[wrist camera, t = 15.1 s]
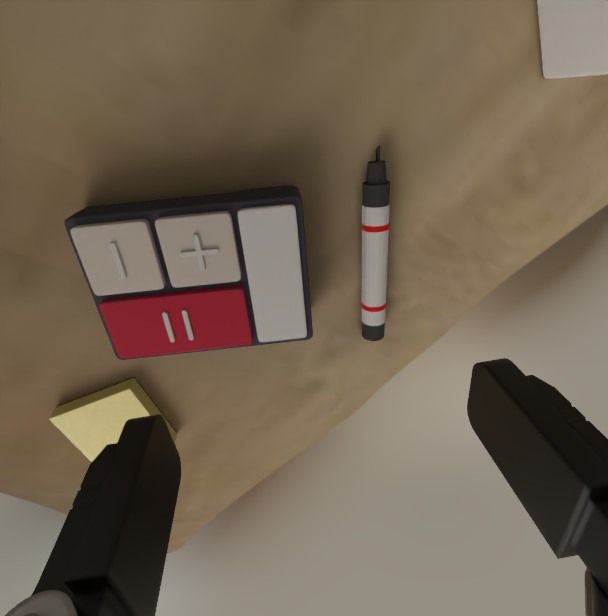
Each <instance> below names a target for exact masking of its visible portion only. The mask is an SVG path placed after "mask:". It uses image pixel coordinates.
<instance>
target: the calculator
mask: <svg viewBox="0 0 608 616" xmlns="http://www.w3.org/2000/svg"><path fill="white" fill-rule="evenodd" d="M65 227H66V230H67V232H68V235H69V237H70V240H71V242H72V245H73V247H74V250H75V253H76V255H77V258H78V260H79V263H80V265H81V268H82V270H83V273H84V276H85V278H86V281H87V283H88V286H89V288H90V291H91V293H92V296H93V298H94V301H95V304H96V306H97V309H98V311H99V314H100V316H101V319H102V321H103V324H104V327H105V329H106V332H107V334H108V337H109V339H110V342H111V344H112V347H113V349H114V352H115V354H116V356H117V358H119V359H121V360H126V359H135V358H144V357H153V356H162V355H172V354H181V353H190V352H199V351H208V350H217V349H226V348H235V347H245V346H254V345H263V344H272V343H281V342H290V341H299V340H307V339H310V338H311V337H312V335H313V330H312V317H311V305H310V293H309V280H308V268H307V256H306V243H305V231H304V218H303V206H302V200H301V196H300V193H299V190H298V188H297V187H295V186H281V187H271V188H261V189H251V190H244V191H239V192H234V193H227V194H217V195H206V196H196V197H186V198H176V199H165V200H155V201H145V202H135V203H124V204H114V205H104V206H94V207H87V208H84V209H83V210H81V211H79V212H77V213H76V214H74V215H72V216H70V217H69V218H67V219H66V220H65Z"/></svg>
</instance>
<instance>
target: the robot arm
mask: <svg viewBox="0 0 608 616" xmlns="http://www.w3.org/2000/svg"><path fill="white" fill-rule="evenodd" d="M467 410H468V417H469V420H470V423H471V426H472V428H473V430H474V431H475V433H476V434H477V436H478V437H479V439H480V440H481V442H482V443H483V445H484V446H485V448H486V450H487V451H488V453H489V454H490V456H491V457H492V459H493V460H494V462H495V463H496V465H497V466H498V468H499V469H500V471H501V472H502V474H503V476H504V477H505V479H506V480H507V482H508V483H509V485H510V486H511V488H512V489H513V491H514V492H515V494H516V495H517V497H518V498H519V500H520V501H521V503H522V504H523V506H524V507H525V509H526V511H527V512H528V514H529V515H530V517H531V518H532V520H533V521H534V523H535V524H536V526H537V527H538V529H539V530H540V532H541V533H542V535H543V537H544V538H545V540H546V541H547V543H548V544H549V546H550V547H551V549H552V550H553V552H554V553H555V555H556V556H557V558H558V559H559V558H564V557H569V556H575V555H579V556H580V558H581V559H582V561H583V562H584V564H585V565H586V566H587V569H586V571H585V609H586V616H608V439H607V438H606V437H605V436H604V435H603V434H602V433H601V432H600V431H599V430H597V429H596V427H594V425H593V424H592V423H590V422H589V421H586V419H585V417H584V416H583V415H582V414H581V413H580V412H579V411H578V410H577V409H576V408H575V407H572V406H571V403H570V402H569V401H568V400H567V399H566V398H565V397H564V396H563V395H562V394H561V393H560V392H559V391H558V390H557V389H556V388H555V387H553V386H551V385H549V384H547V383H546V382H544V381H542V380H540V379H539V378H537V377H535V376H533V375H529V376H525V375H524V374H523V373H522V372H521V371H520V370H519V369H518V368H517V366H516V365H515V364H514V363H513V362H512V361H510V360H509V359H505V358H504V359H499V360H492V361H486V362H480V363H476V364H475V365H474V367H473V370H472V377H471V384H470V391H469V398H468V405H467ZM180 479H181V462H180V457H179V454H178V451H177V449H176V446H175V444H174V441H173V439H172V436H171V434H170V432H169V429H168V427H167V424H166V422H165V419H164V418H163V416H162V415H160V414H157V415H151V416H145V417H139V418H133V419H129V420H127V421H126V423H125V425H124V427H123V430H122V432H121V435H120V438H119V440H118V443H115V444H109V445H106V447H105V448H104V449H103V450H102V451H101V452H100V454H99V455H98V456H97V457H96V458H95V459H94V461H93V462H92V463H91V464H90V466H89V468H88V471H87V473H86V475H85V477H84V480H83V482H82V484H81V490H80V491H78V493H77V496H76V498H75V500H74V502H73V509H71V510H70V511H69V514H68V516H67V519H66V521H65V523H64V525H63V528H62V530H61V532H60V534H59V537H58V539H57V541H56V543H55V546H54V548H53V550H52V553H51V555H50V557H49V559H48V562H47V564H46V566H45V568H44V571H43V573H42V575H41V578H40V580H39V582H38V584H37V586H36V588H35V590H34V592H33V594H32V595H31V596H30V597H28V598H27V599H25V600H23V601H22V602H20V603H19V604H18V605H16V606H15V607H14V608H13V609H11V610H10V611H9V612H8V613H7V614H6V615H5V616H155V612H156V607H157V601H158V596H159V591H160V586H161V580H162V575H163V569H164V564H165V559H166V554H167V549H168V543H169V538H170V533H171V527H172V522H173V517H174V511H175V506H176V501H177V495H178V490H179V485H180Z"/></svg>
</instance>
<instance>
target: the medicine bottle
mask: <svg viewBox="0 0 608 616" xmlns="http://www.w3.org/2000/svg"><path fill="white" fill-rule="evenodd" d="M537 7H538V19H539V31H540V43H541V54H542V66H543V76H544V78H546V79H554V78H567V77H579V76H591V75H603V74H608V0H537Z"/></svg>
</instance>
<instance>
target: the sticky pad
mask: <svg viewBox="0 0 608 616" xmlns="http://www.w3.org/2000/svg"><path fill="white" fill-rule="evenodd" d="M157 414H160V415H162V414H161V412H160V411H159V410H158V408H157V407H156V406H155V404H154V403H153V402H152V400H151V399H150V398H149V397H148V395H147V394H146V393H145V391H144V390H143V389H142V387H141V386H140V385H139V384H138V382H137V381H136V380H135V378H132V379H129V380H127V381H124V382H121V383H119V384H116V385H113V386H111V387H108V388H106V389H103V390H100V391H98V392H95V393H92V394H90V395H87V396H84V397H82V398H79V399H76V400H74V401H71V402H68V403H66V404H63V405H60V406H58V407H56V408H55V410H54V411H53V413H52V415H51V416H50V418H49V420H50V421H51V422H52V423H53V424H54V425H55V426H56V427H57V428H58V429H59V430H60V431H61V432H62V433H63V434H64V435H65V436H66V437H67V438H68V439H69V440H70V441H71V442H72V443H73V444H74V445H75V446H76V447H77V448H78V449H79V450H80V451H81V452H82V453H83V454H84V455H85V456H86V457H87V458H88V459H89V460H90V461H91V462H93V461H94V459H95V458H96V457H97V456H98V455H99V454H100V452H101V451H102V450H103V449H104V448H105V447H106V445H109V444H115V443H118V440H119V438H120V435H121V432H122V430H123V427H124V425H125V423H126V421H127V420H129V419H133V418H139V417H145V416H151V415H157ZM162 416H163V415H162ZM163 418H164V419H165V417H164V416H163ZM165 422H166V424H167V427H168V429H169V432H170V434H171V436H172V439H173V441H174V444H175V440H176V436H177V433H176V432H175V431H174V429H173V428H172V427H171V425H170V424H169V423H168V421H167V420H166V419H165Z"/></svg>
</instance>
